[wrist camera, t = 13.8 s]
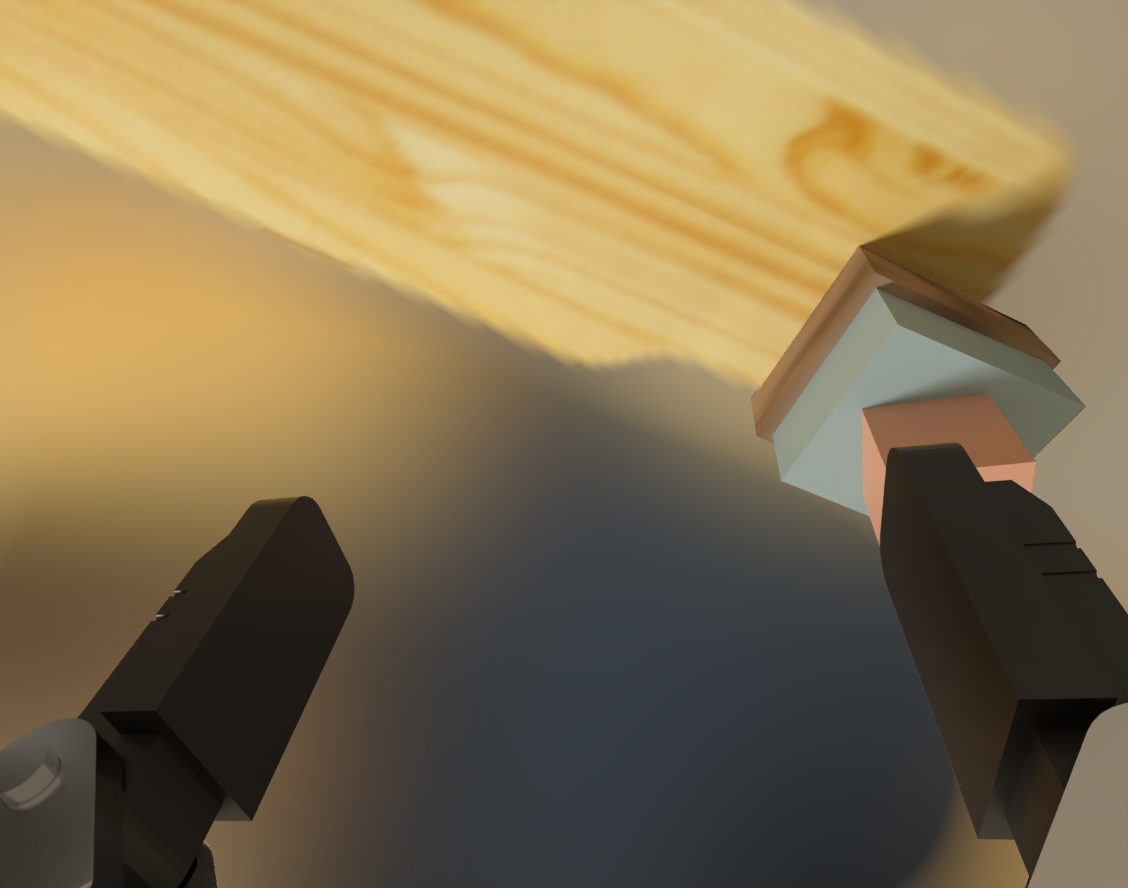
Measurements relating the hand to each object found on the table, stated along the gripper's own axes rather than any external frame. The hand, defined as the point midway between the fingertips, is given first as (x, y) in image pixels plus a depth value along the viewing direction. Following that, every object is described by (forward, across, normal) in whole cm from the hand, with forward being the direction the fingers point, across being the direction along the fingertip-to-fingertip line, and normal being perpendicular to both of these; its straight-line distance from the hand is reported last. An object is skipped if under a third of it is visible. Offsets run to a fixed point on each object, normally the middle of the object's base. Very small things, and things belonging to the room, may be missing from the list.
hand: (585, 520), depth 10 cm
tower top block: (+24, -12, +14) cm, 30 cm away
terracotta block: (+20, -11, +14) cm, 27 cm away
